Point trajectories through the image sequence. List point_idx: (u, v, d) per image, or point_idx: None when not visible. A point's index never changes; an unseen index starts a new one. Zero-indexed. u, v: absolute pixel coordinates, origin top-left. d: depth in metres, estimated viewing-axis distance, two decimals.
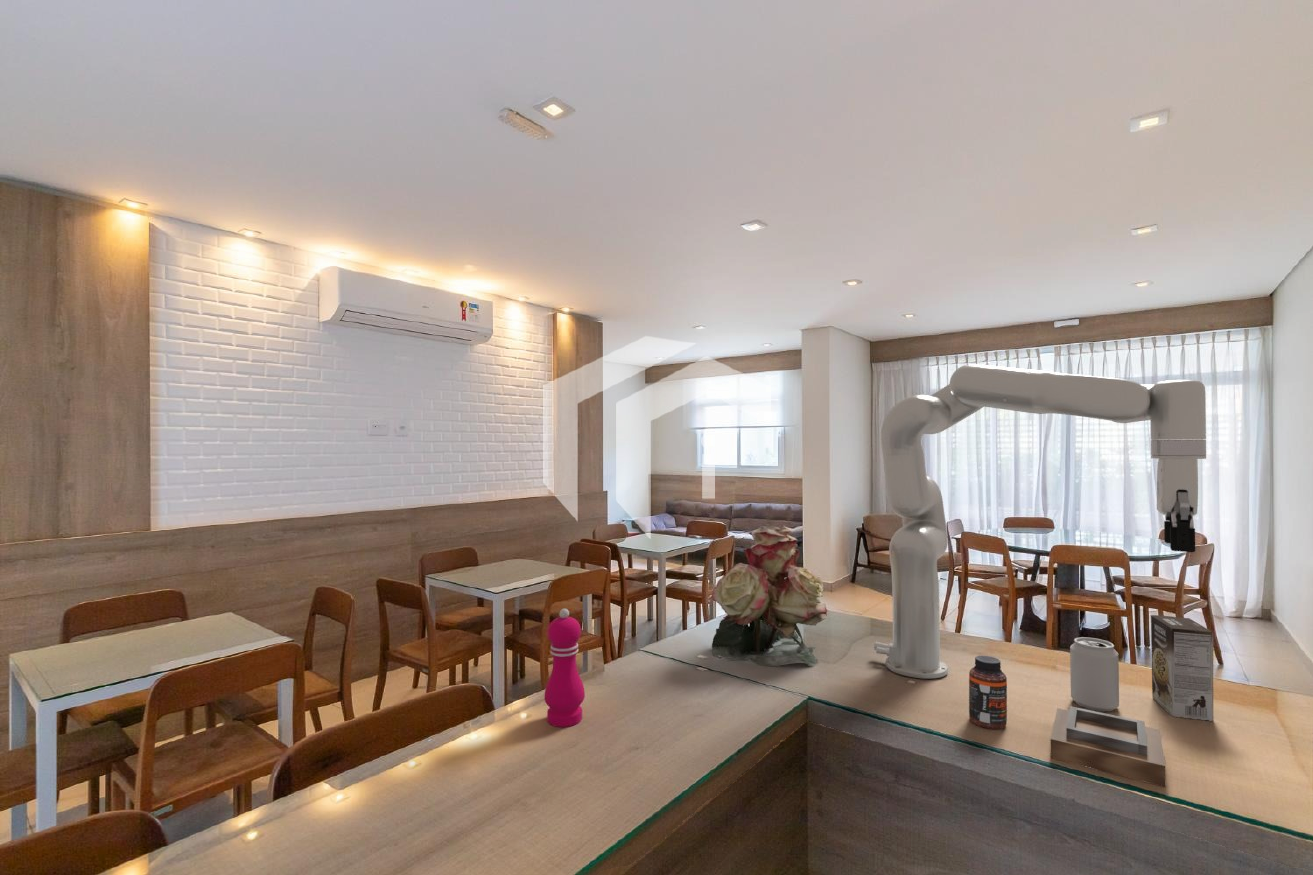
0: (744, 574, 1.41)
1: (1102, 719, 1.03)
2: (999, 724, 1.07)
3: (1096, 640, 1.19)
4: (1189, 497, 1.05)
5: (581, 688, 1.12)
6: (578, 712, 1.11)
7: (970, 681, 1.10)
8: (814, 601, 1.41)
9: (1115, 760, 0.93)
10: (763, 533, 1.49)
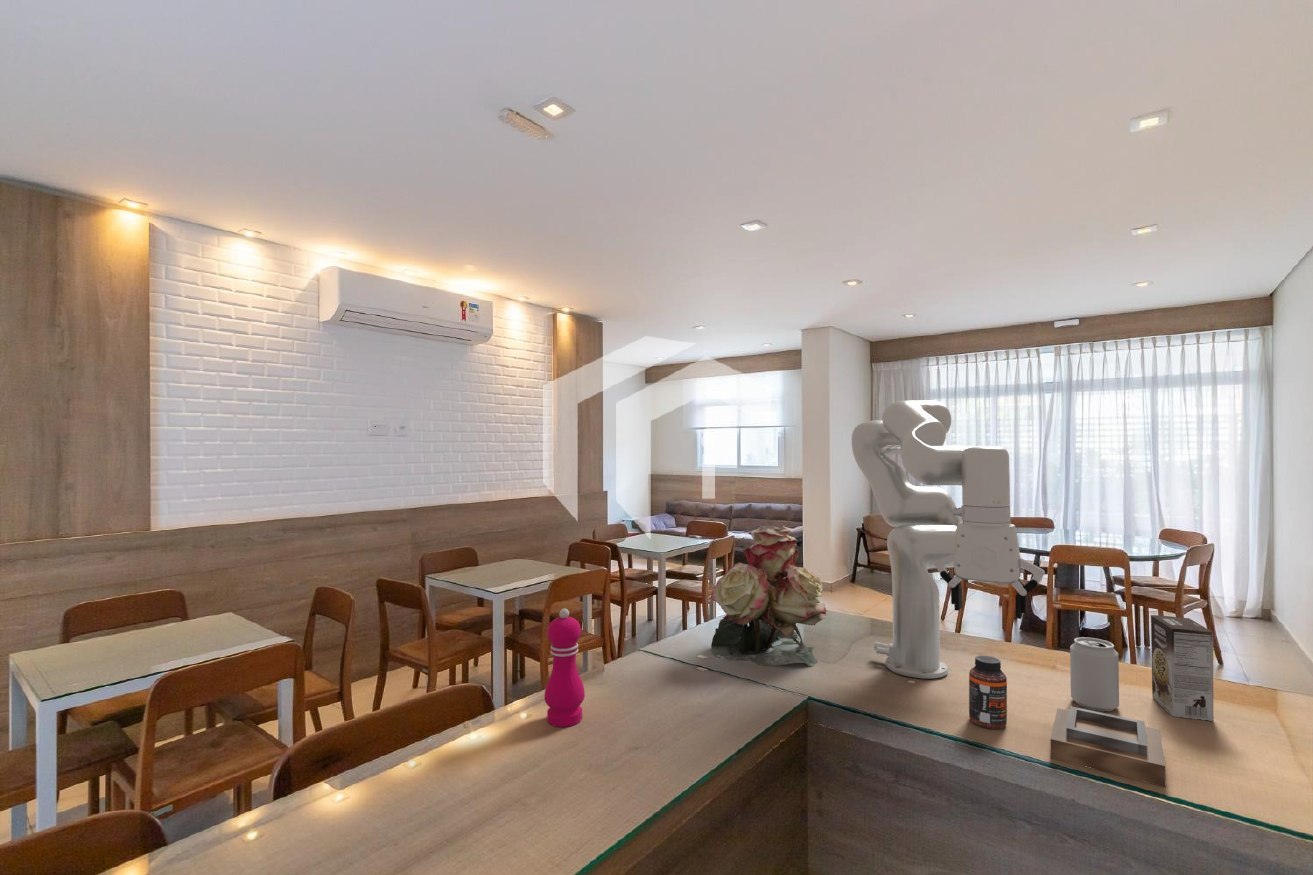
0: (743, 574, 1.41)
1: (1102, 719, 1.03)
2: (999, 724, 1.07)
3: (1096, 640, 1.19)
4: None
5: (581, 688, 1.12)
6: (578, 712, 1.11)
7: (970, 681, 1.10)
8: (813, 601, 1.41)
9: (1115, 760, 0.93)
10: (762, 533, 1.49)
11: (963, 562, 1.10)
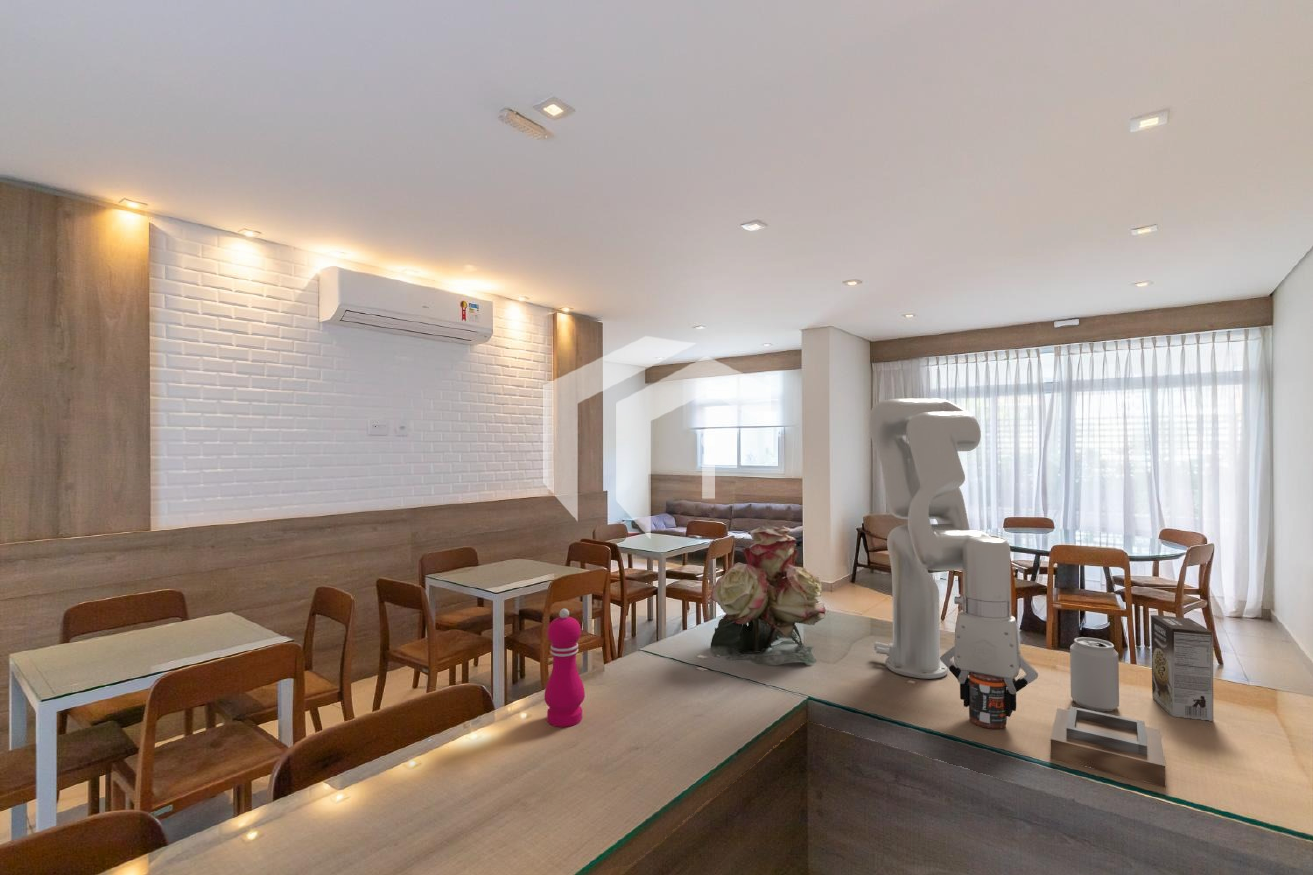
0: (743, 574, 1.42)
1: (1102, 719, 1.03)
2: (999, 724, 1.07)
3: (1096, 640, 1.19)
4: (1020, 655, 1.08)
5: (581, 688, 1.12)
6: (578, 712, 1.11)
7: (970, 681, 1.10)
8: (812, 600, 1.42)
9: (1115, 760, 0.93)
10: (762, 533, 1.50)
11: (963, 653, 1.10)
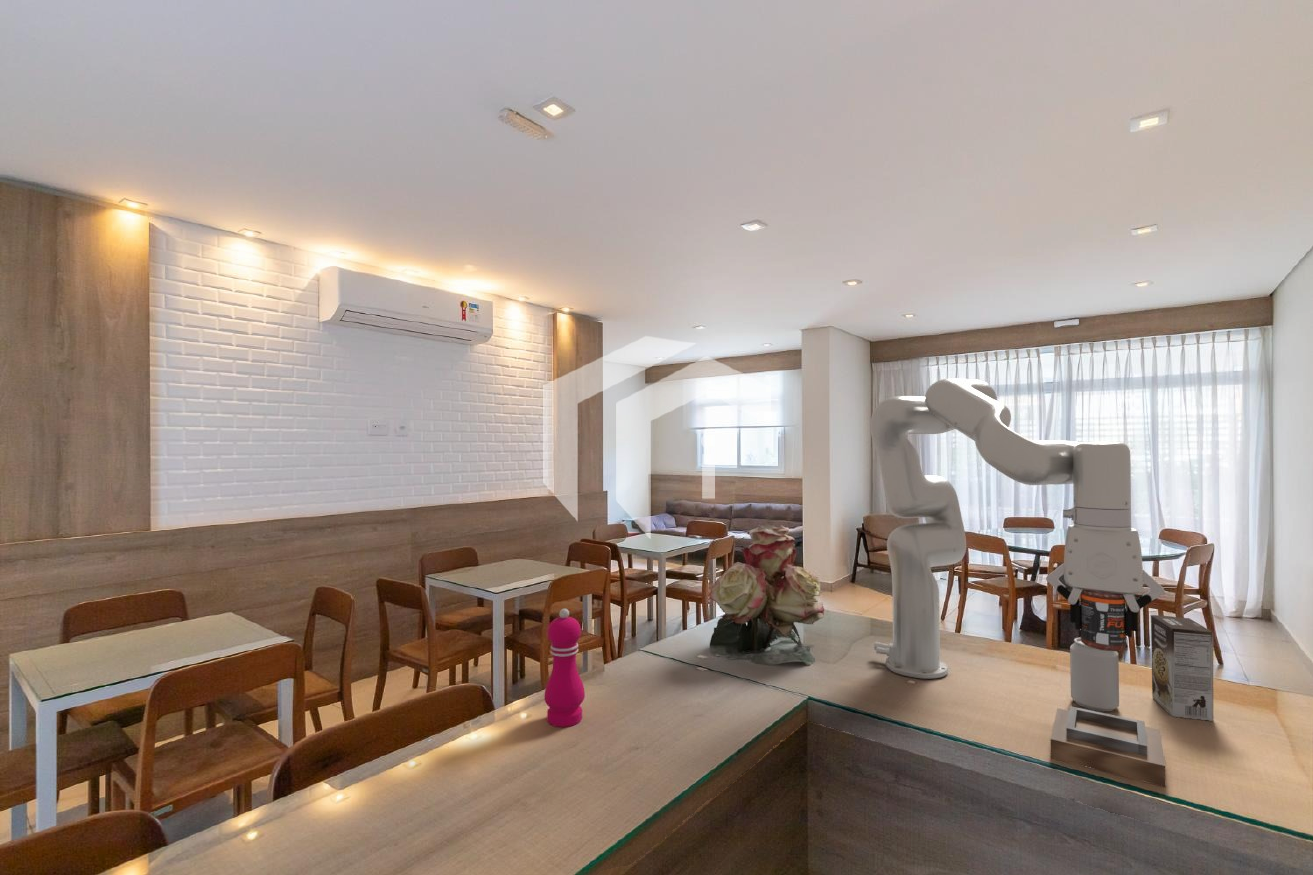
0: (742, 573, 1.42)
1: (1102, 719, 1.03)
2: (1119, 645, 0.96)
3: None
4: None
5: (581, 688, 1.12)
6: (578, 712, 1.11)
7: (1083, 600, 1.00)
8: (811, 600, 1.42)
9: (1115, 760, 0.93)
10: (761, 532, 1.50)
11: (1076, 570, 0.99)
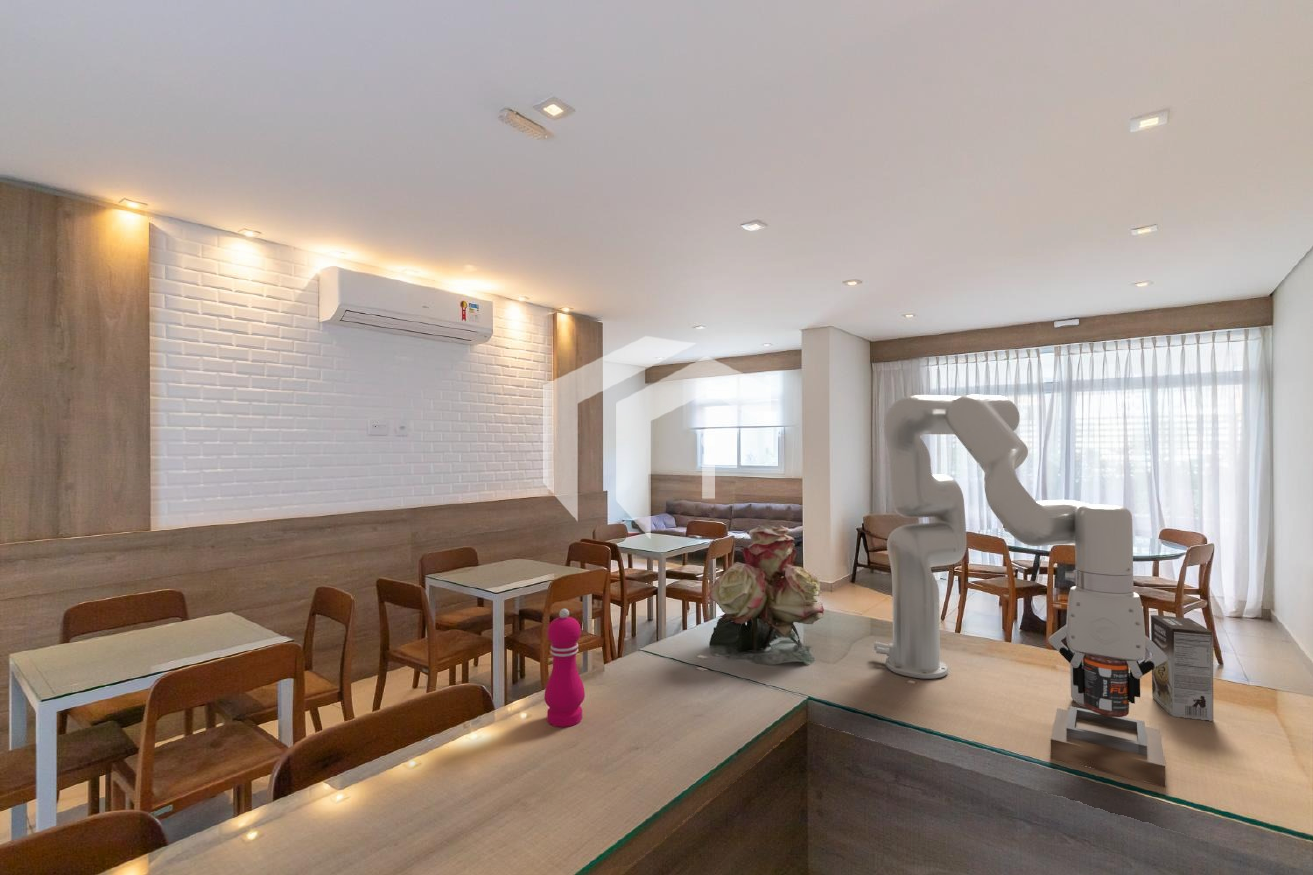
0: (741, 573, 1.42)
1: (1102, 719, 1.03)
2: (1122, 712, 0.96)
3: None
4: None
5: (581, 688, 1.12)
6: (578, 712, 1.11)
7: (1086, 664, 0.99)
8: (811, 600, 1.42)
9: (1115, 760, 0.93)
10: (760, 532, 1.50)
11: (1078, 634, 0.99)
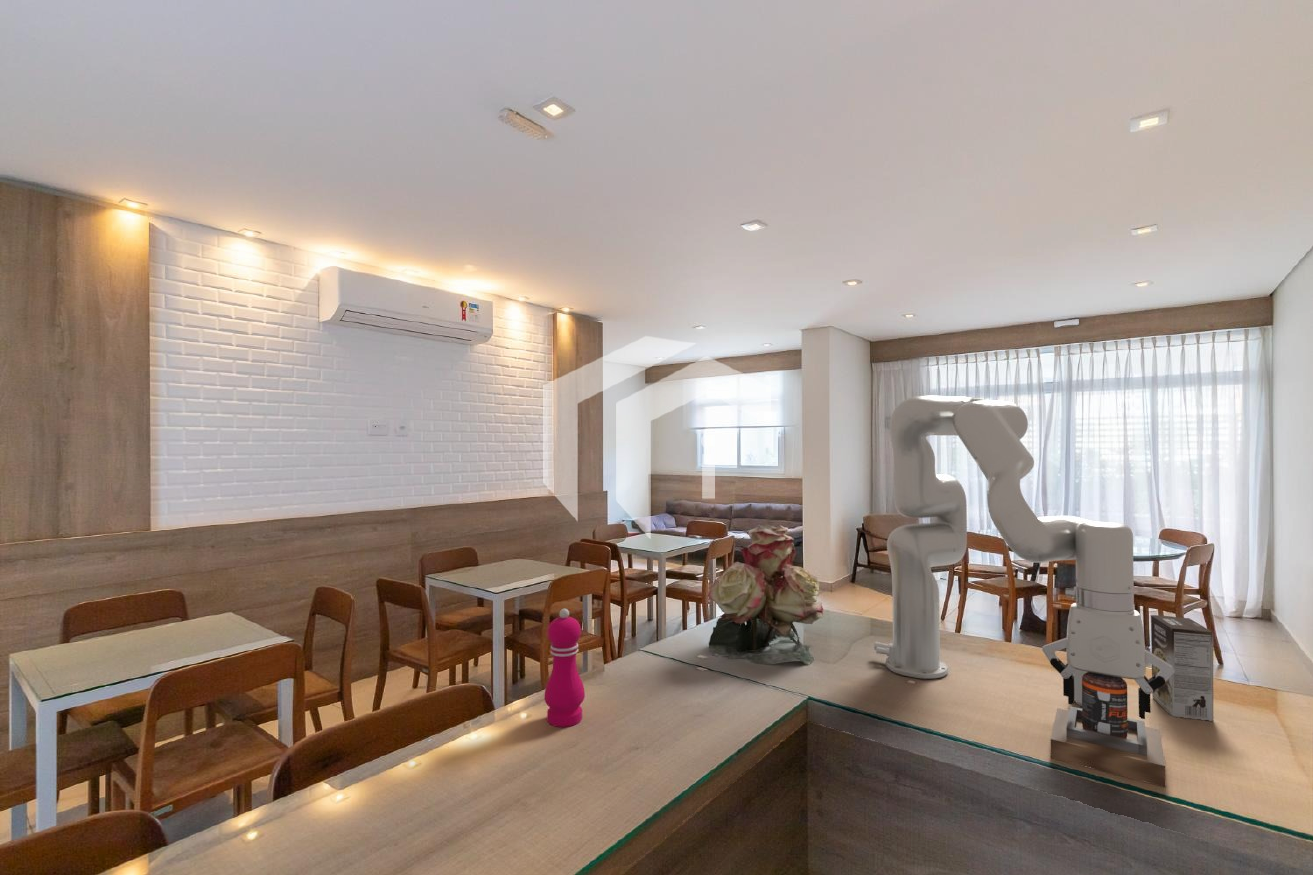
0: (741, 573, 1.42)
1: None
2: (1120, 735, 0.96)
3: None
4: None
5: (581, 688, 1.12)
6: (578, 712, 1.11)
7: (1084, 687, 1.00)
8: (810, 600, 1.42)
9: (1115, 760, 0.93)
10: (760, 532, 1.50)
11: (1079, 651, 0.99)
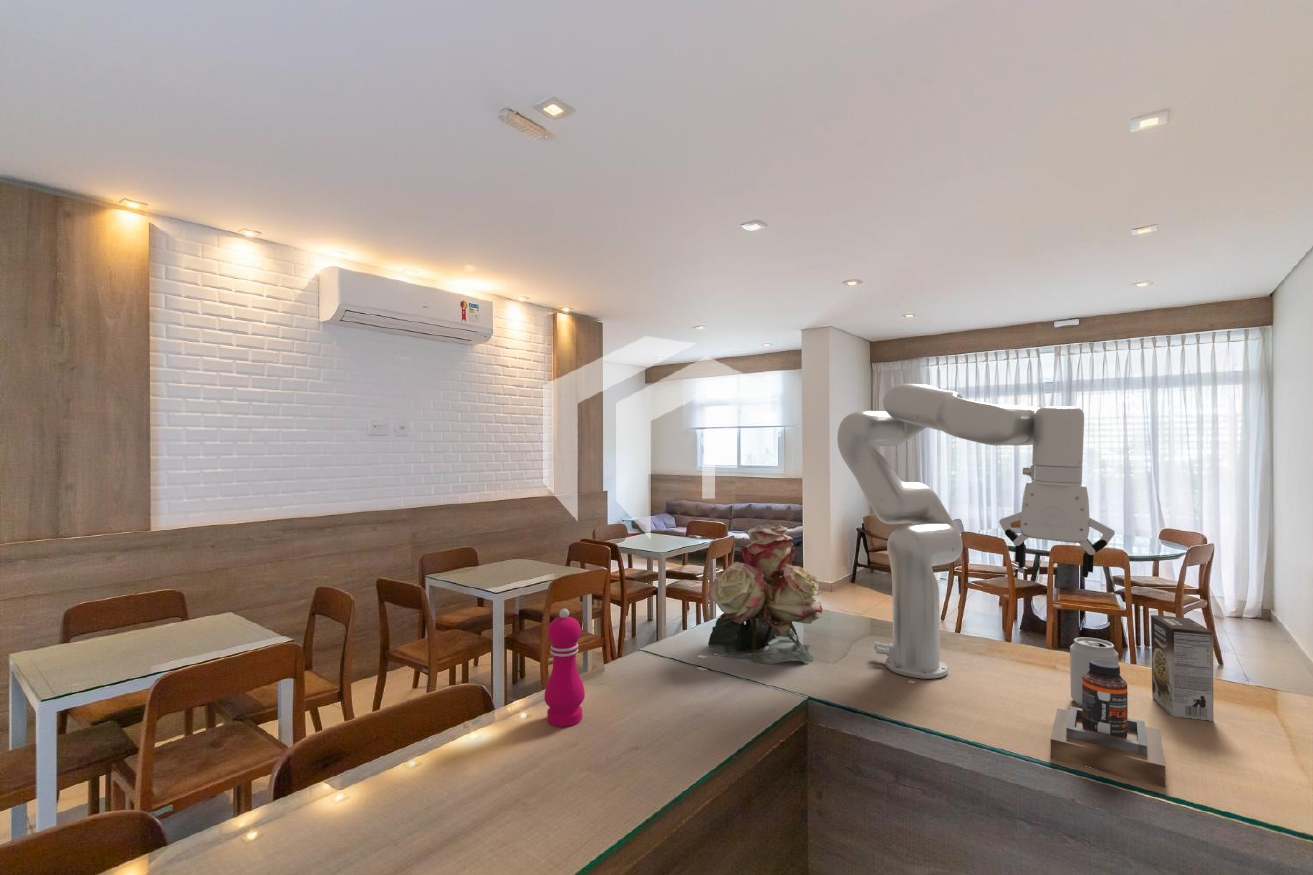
0: (740, 573, 1.43)
1: None
2: (1120, 735, 0.96)
3: (1096, 640, 1.19)
4: None
5: (581, 688, 1.12)
6: (578, 712, 1.11)
7: (1085, 687, 1.00)
8: (809, 599, 1.43)
9: (1115, 760, 0.93)
10: (759, 532, 1.51)
11: (1031, 521, 1.11)
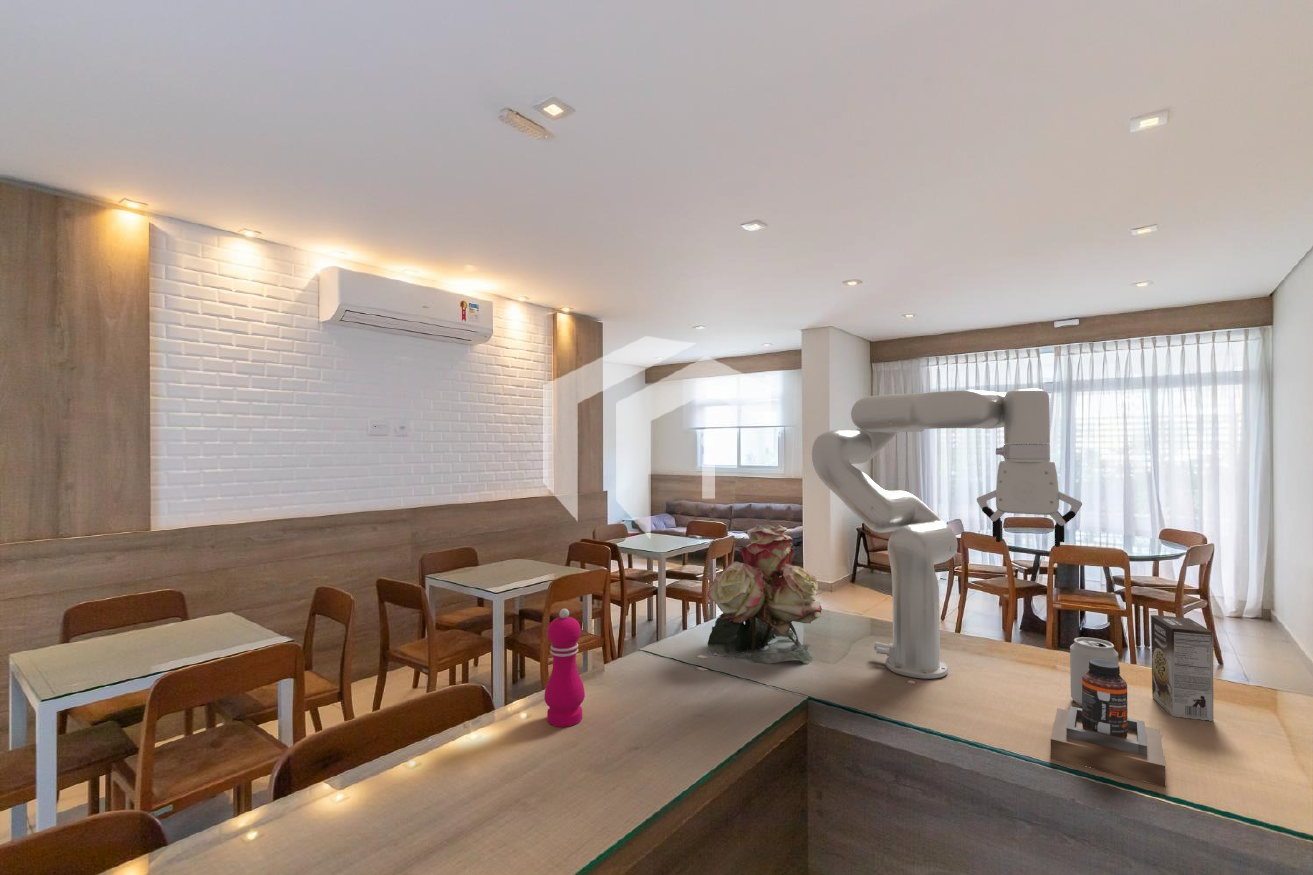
0: (739, 572, 1.43)
1: None
2: (1120, 735, 0.96)
3: (1096, 640, 1.19)
4: None
5: (581, 688, 1.12)
6: (578, 712, 1.11)
7: (1084, 687, 1.00)
8: (809, 599, 1.43)
9: (1115, 760, 0.93)
10: (758, 532, 1.51)
11: (1005, 496, 1.18)
